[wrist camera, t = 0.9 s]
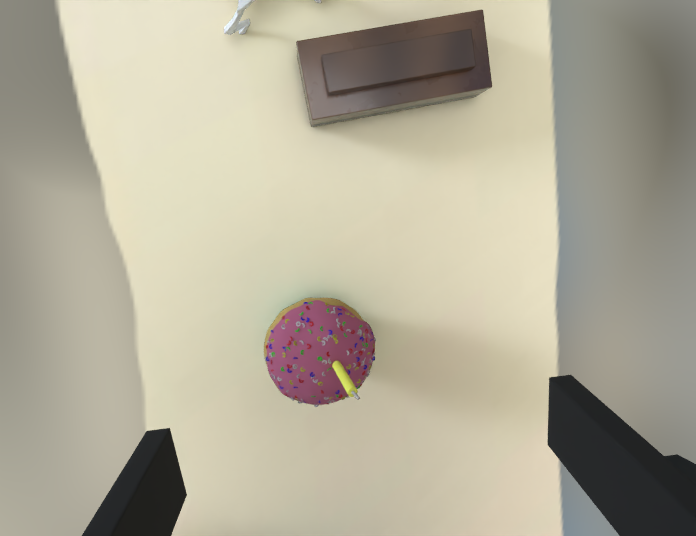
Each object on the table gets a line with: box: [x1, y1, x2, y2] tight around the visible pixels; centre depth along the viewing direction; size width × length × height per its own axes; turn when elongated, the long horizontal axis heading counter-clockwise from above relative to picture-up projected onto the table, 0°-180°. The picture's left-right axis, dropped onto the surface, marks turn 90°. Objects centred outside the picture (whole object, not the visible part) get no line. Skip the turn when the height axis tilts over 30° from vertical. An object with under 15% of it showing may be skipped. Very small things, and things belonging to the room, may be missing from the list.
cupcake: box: [264, 298, 376, 407], centre depth 31 cm, size 9×8×12 cm
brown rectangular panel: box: [296, 10, 492, 127], centre depth 32 cm, size 14×6×4 cm, turn 101°
